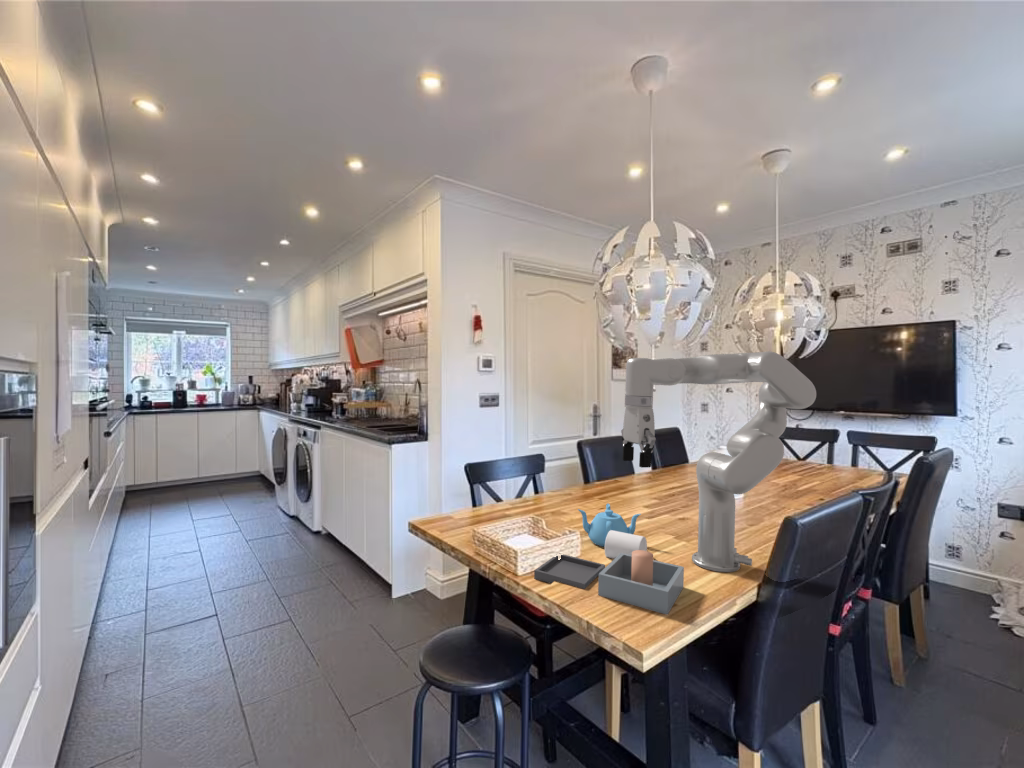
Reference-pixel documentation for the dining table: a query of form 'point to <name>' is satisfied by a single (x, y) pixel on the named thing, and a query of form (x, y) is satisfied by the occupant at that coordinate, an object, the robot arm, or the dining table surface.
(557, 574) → the tray
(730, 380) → the robot arm
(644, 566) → the cylinder
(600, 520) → the teapot
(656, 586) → the bin
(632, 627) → the dining table surface
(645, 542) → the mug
